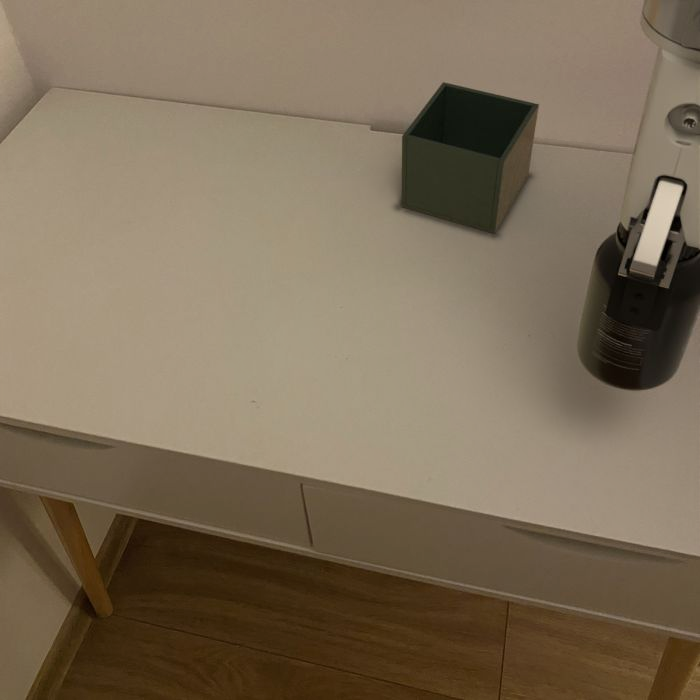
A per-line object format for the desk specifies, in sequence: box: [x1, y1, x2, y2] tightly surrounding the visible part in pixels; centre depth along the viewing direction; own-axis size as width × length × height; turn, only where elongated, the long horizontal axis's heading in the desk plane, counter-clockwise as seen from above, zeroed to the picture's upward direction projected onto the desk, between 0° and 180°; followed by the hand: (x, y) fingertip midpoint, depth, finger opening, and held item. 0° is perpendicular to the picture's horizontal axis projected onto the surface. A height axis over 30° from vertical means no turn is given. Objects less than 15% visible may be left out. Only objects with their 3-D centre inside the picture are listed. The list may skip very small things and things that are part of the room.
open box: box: [400, 81, 540, 235], centre depth 81 cm, size 10×10×8 cm
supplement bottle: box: [576, 209, 700, 392], centre depth 51 cm, size 7×7×12 cm
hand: (648, 278), depth 51 cm, fingers closed on supplement bottle, 6 cm apart
